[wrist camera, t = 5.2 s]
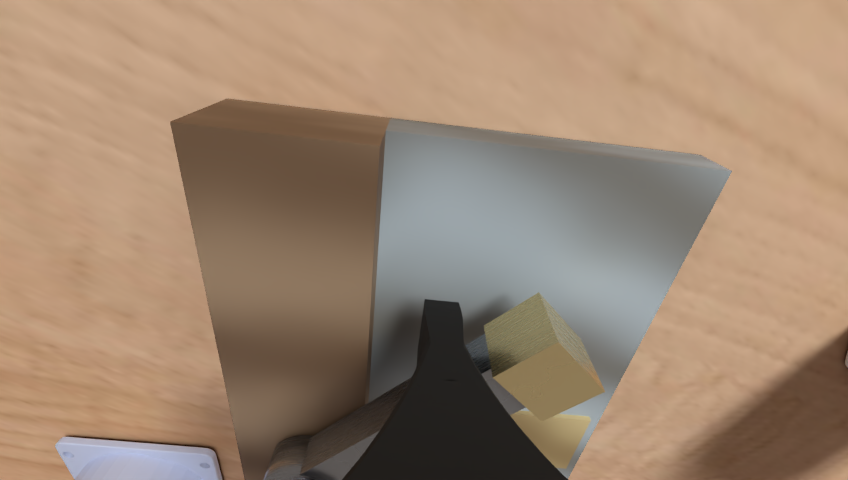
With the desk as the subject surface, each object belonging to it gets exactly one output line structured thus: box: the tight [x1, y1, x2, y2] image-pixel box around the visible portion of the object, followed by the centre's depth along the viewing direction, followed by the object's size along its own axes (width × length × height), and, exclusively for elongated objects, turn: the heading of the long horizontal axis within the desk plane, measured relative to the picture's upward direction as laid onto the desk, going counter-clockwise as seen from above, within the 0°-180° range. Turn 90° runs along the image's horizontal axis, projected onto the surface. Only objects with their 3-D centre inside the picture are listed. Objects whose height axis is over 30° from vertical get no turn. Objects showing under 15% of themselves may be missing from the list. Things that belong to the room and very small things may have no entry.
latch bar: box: [264, 292, 605, 480], centre depth 13 cm, size 13×3×2 cm, turn 131°
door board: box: [170, 99, 732, 480], centre depth 15 cm, size 16×15×3 cm
